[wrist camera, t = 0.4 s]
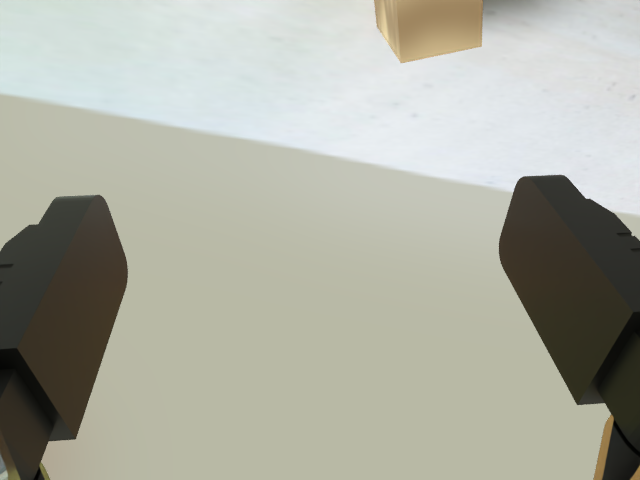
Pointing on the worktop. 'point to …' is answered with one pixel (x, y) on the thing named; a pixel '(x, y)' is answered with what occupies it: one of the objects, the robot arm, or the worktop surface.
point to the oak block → (429, 26)
